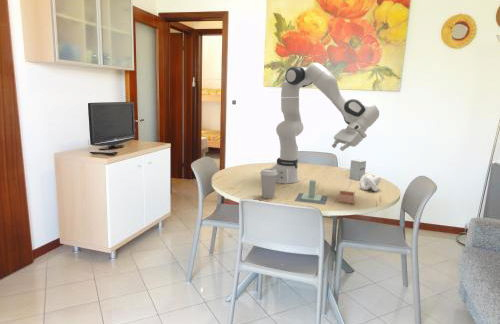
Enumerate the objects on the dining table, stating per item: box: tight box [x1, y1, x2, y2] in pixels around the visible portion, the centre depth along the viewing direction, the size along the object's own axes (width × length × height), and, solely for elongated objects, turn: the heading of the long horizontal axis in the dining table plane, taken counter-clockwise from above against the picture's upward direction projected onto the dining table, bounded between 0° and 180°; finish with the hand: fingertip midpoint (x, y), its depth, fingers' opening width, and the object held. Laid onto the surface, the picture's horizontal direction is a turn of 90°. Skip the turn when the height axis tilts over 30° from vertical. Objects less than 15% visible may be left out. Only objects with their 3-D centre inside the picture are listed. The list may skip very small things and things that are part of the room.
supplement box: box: [349, 158, 367, 181], centre depth 239 cm, size 7×7×13 cm
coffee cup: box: [259, 167, 278, 199], centre depth 192 cm, size 10×10×15 cm
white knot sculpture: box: [359, 173, 382, 192], centre depth 213 cm, size 11×12×9 cm
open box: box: [337, 190, 356, 206], centre depth 189 cm, size 8×8×4 cm
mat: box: [294, 192, 329, 205], centre depth 191 cm, size 16×16×1 cm
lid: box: [301, 179, 323, 202], centre depth 190 cm, size 10×10×10 cm
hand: (336, 148), depth 189 cm, fingers open, 8 cm apart
